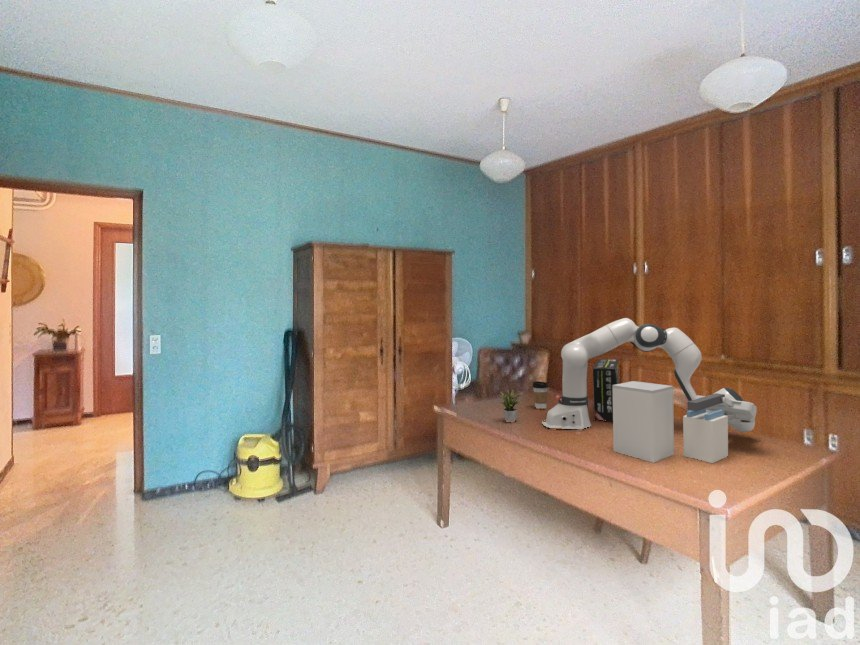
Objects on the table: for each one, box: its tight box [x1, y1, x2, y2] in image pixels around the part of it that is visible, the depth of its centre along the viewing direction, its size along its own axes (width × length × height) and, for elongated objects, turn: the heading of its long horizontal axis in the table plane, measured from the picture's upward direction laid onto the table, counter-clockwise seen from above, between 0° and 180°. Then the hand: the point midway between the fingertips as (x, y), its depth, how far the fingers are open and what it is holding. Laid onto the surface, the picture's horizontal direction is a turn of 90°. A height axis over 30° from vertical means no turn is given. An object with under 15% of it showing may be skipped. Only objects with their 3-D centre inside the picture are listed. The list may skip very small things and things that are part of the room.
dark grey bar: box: [687, 392, 725, 411], centre depth 166 cm, size 22×3×3 cm, turn 124°
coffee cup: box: [532, 380, 549, 409], centre depth 249 cm, size 8×8×15 cm
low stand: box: [682, 408, 729, 464], centre depth 166 cm, size 12×10×17 cm
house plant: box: [498, 389, 524, 421], centre depth 222 cm, size 14×14×16 cm
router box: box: [592, 358, 620, 422], centre depth 234 cm, size 36×11×27 cm, turn 156°
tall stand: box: [612, 380, 675, 463], centre depth 171 cm, size 14×16×26 cm
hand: (715, 397), depth 170 cm, fingers closed on dark grey bar, 3 cm apart
